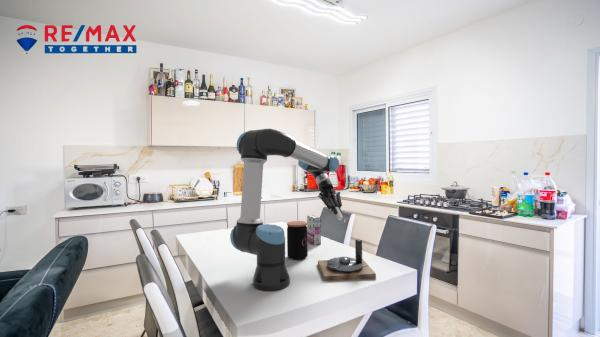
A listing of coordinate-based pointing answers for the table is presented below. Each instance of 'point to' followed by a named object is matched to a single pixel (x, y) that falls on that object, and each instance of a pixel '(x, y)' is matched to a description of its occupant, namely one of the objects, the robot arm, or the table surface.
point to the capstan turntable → (348, 261)
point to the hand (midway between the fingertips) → (340, 218)
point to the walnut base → (334, 275)
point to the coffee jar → (297, 240)
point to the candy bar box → (314, 229)
